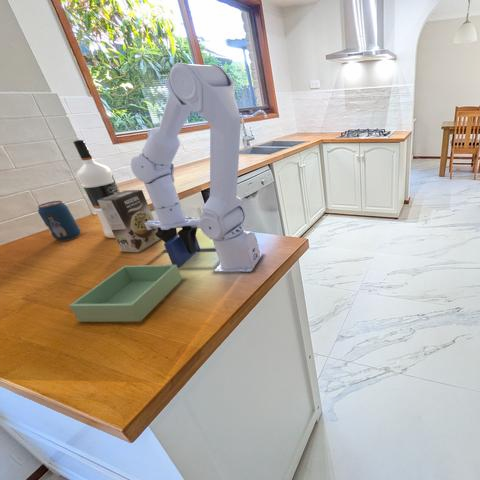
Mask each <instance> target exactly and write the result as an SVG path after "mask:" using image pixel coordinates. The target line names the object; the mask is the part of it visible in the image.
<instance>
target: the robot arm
mask: <svg viewBox="0 0 480 480" xmlns="http://www.w3.org/2000/svg"><path fill="white" fill-rule="evenodd" d="M165 84H166V87H167V90H168V95H167V99H166V103H165V106H164V109H163V113H162V116H161V119H160V123H159V125H158V126H157V127H153V128H151V129H149V130H148V131H147V133H146V136H147V138H146V142H145V144H144V146H143V148H142V150H141V153H140V154H138V155H136V156H133V157H132V158H131V159H130V169H131V171H132V173H133V175H134V176H135V178H137V180H139V182H142V183H143V185H144V186H145V190H146V191H147V194H148V197H149V199H150V201H151V204H152V207H153V209H154V211H155V213H156V215H157V218H156V219H154V220H149V221H147V222H146V223H144V224H145V226H146V228H147V230H151V229H158V232H156V233H155V234H156V236H157V237H158V238H160V240H161V241H162V242H164V244H165V243H166V242H167V241H169V240H170V239H171V238H173V237H174V236H175V235H177V234H178V235H179V236H180V237H181V239H182V240H183V242H184V243H185V245H186V248H187V250H188V252H189V254H192V253H193V252H195V251H196V244H195V239H196V238H197V232H198V229H199V230H200V231H201V232H202V233H203V234H204V236H206V237H207V238H209V240H212V242H213V245H214V248H215V249H216V255H217V258H218V261H219V264H218V266H217V267H215V269H214V272H218V273H219V272H241V273H250V272H252V271H253V270H254V269H255V267H256V265H257V264H258V262H259V261H260V259H262V256H263V255H262V253H261V251H260V248H259V243H258V239H257V236H256V234H255V232H253V231H248V230H245V229H244V227H245V226H244V222H245V220H246V217H247V216H246V215H247V214H246V211H245V209H244V200H243V199H242V198H241V197H239V196H238V195H237V194H238V179H239V178H238V177H239V164H240V163H239V160H240V144H241V126H242V118H241V113H240V111H239V107H238V104H237V100H236V97H235V90H236V89H235V88H236V83H235V82H234V81H233V79H232V78H231V77H230V75H229V74H228V73H227V71H226V70H225V68H223V67H221V66H220V65H216V64H210V65H207V64H195V63H194V64H192V63H191V64H190V63H186V62H177V63H174V64H173V65H172V66H171V68H170V71H169V76H168V78H167V80H166V81H165ZM192 111H194V112H195V113H196V114H198V115H199V116H200V117H201V118H203V119H205V120H206V122H207V123H208V124H209V130H210V131H209V142H210V143H209V197H208V199H207V200H206V202H205V203H204V205H203V207H202V213H201V216H200V217H192V216H186V214H185V211H184V209H183V206H182V203H181V201H180V200H181V199H180V197H179V195H178V192H177V189H176V186H175V177H174V173H175V166H174V165H175V164H174V163H173V161H174V159H175V156H176V154H177V152H178V150H179V148H180V146H181V139H180V137H179V136H178V135H179V134H180V132H181V131H182V129H183V127H184V125H185V123H186V122H187V120H188V118H189V117H190V114H191V113H192ZM177 229H180V230H179V231H177Z"/></svg>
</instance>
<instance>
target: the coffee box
mask: <svg viewBox="0 0 480 480" xmlns="http://www.w3.org/2000/svg"><path fill="white" fill-rule="evenodd" d="M97 201H98V203H99V205H100V207H101V209H102V211H103V213H104V215H105V217H106V219H107V222H108V224H109V226H110V228H111V230H112V232H113V234H114V236H115V238H114V239H115V240H116V243H117V244H118V246H119V248H120V251H121V252H125V253H140V252H142V251H144V250H145V249H147V248H148V247H150V246H152V245H154V244H156V243H157V242H159V241H160V240H161V239H160V238H158V237H157V236H156V234H155V233H156V232H158V229H151V230H147V228H146V226H145V224H144V223H146V222H147V221H149V220H155V218H154V216H153V213H152V210H151V208H150V206H149V203H148V201H147V199H146V197H145V193H144V192H143V189H130V190H129V189H125V190H122V191H120V192H119V193H116V194H113V195H111V196H108V197H105V198H102V199H99V200H97Z"/></svg>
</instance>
